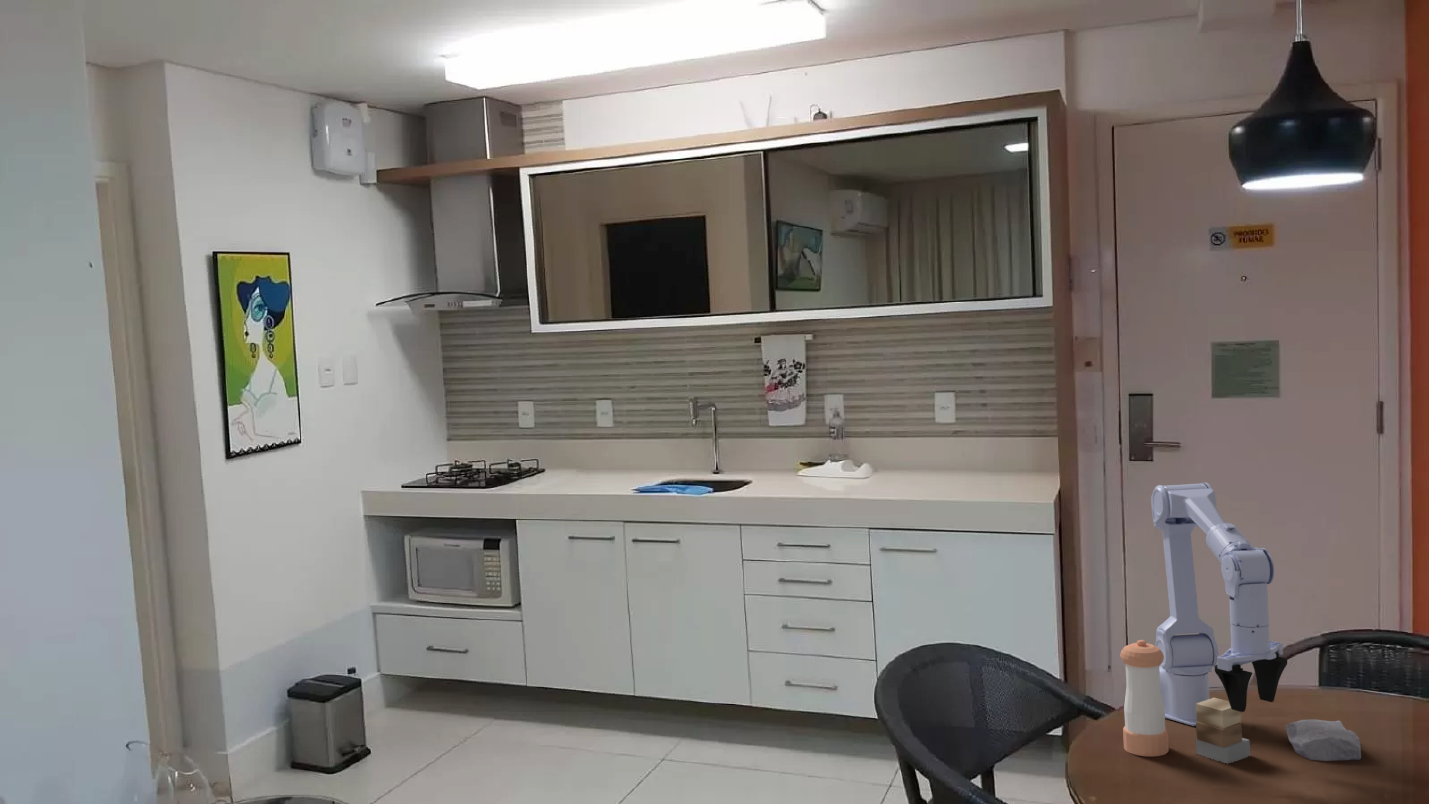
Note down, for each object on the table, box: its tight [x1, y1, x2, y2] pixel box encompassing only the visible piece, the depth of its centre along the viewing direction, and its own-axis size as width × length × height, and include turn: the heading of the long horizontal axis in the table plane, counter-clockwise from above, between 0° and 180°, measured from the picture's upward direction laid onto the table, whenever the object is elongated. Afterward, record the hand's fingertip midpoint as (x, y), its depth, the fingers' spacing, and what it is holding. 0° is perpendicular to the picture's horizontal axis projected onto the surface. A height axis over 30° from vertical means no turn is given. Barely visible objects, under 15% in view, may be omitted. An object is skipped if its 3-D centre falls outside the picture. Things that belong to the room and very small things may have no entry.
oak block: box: [1196, 697, 1242, 728], centre depth 189 cm, size 5×5×3 cm
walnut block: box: [1195, 722, 1243, 748], centre depth 188 cm, size 5×5×3 cm
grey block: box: [1195, 737, 1251, 765], centre depth 189 cm, size 6×6×3 cm
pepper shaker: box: [1119, 639, 1170, 758], centre depth 193 cm, size 7×7×19 cm
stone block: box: [1285, 718, 1362, 762], centre depth 189 cm, size 12×5×10 cm
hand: (1252, 705), depth 182 cm, fingers open, 7 cm apart
